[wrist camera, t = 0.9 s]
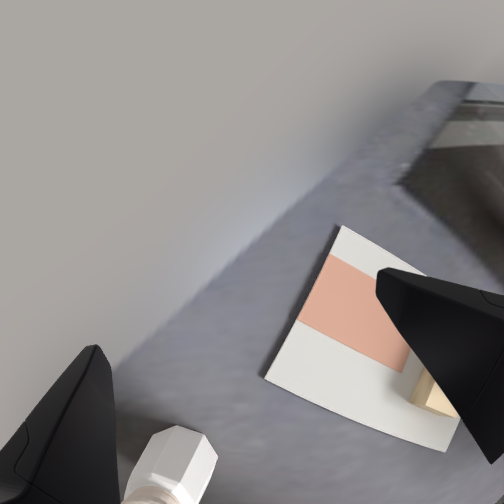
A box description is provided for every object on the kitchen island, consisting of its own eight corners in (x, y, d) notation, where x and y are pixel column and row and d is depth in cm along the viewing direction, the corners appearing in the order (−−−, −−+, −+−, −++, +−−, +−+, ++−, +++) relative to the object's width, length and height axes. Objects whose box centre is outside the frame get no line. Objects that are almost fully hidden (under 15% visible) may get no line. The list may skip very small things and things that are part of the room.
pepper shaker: (133, 455, 18) (68, 510, 7) (175, 410, 19) (129, 450, 9) (188, 498, 17) (164, 579, 7) (233, 454, 18) (237, 526, 8)
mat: (487, 319, 23) (490, 318, 23) (442, 451, 19) (445, 452, 18) (340, 227, 26) (342, 224, 25) (263, 378, 21) (264, 378, 20)
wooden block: (439, 318, 23) (456, 312, 20) (466, 335, 22) (484, 331, 20) (408, 402, 20) (425, 405, 18) (439, 415, 20) (456, 418, 17)
